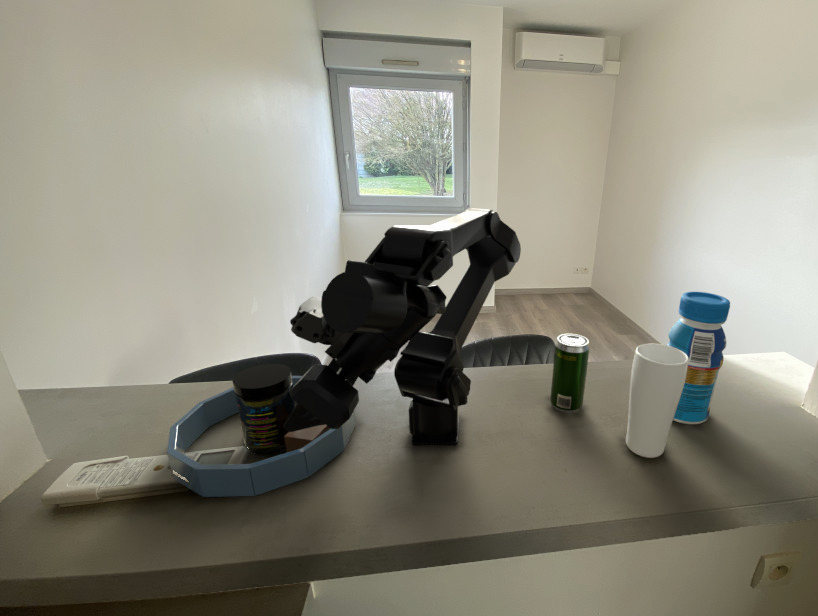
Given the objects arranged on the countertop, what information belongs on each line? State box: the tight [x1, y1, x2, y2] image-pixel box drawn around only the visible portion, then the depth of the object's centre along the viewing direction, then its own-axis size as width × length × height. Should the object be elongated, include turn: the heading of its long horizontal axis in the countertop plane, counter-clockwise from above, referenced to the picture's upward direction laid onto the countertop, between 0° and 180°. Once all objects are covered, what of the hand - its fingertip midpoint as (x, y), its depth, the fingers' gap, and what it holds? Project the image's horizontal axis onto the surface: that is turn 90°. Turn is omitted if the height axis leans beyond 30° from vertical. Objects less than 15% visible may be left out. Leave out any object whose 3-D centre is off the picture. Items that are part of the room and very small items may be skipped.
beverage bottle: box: [666, 291, 731, 425], centre depth 64 cm, size 8×8×20 cm
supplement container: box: [231, 363, 297, 456], centre depth 55 cm, size 7×7×10 cm
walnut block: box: [284, 425, 331, 453], centre depth 54 cm, size 4×4×4 cm
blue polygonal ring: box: [166, 375, 356, 498], centre depth 57 cm, size 22×22×4 cm
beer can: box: [549, 333, 590, 414], centre depth 66 cm, size 5×5×12 cm
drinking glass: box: [625, 342, 689, 459], centre depth 56 cm, size 7×7×15 cm
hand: (303, 406), depth 51 cm, fingers open, 9 cm apart
